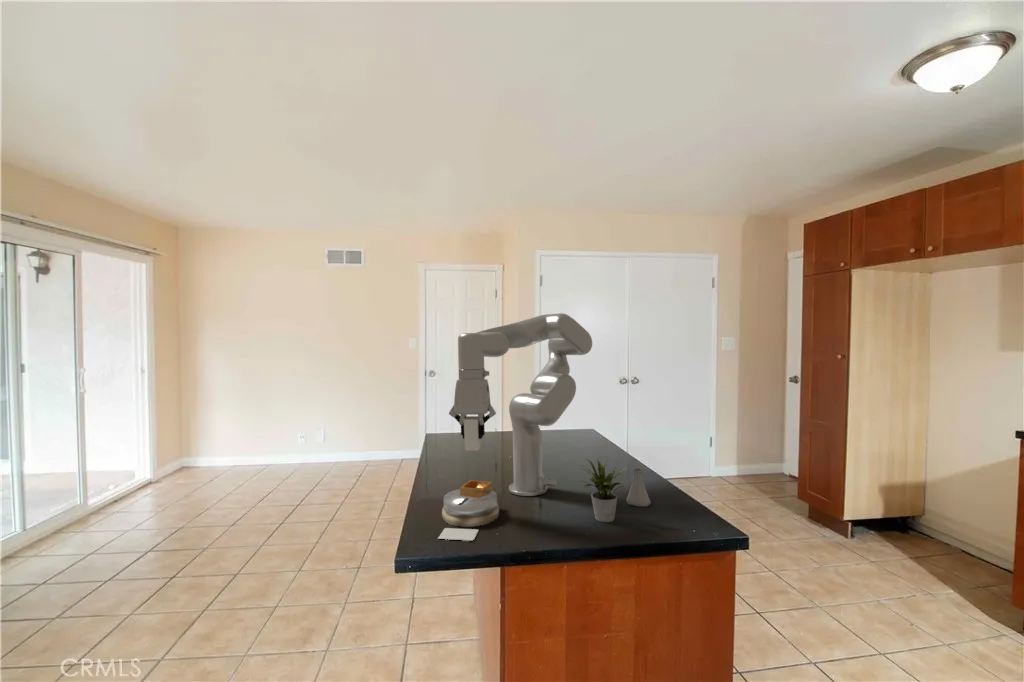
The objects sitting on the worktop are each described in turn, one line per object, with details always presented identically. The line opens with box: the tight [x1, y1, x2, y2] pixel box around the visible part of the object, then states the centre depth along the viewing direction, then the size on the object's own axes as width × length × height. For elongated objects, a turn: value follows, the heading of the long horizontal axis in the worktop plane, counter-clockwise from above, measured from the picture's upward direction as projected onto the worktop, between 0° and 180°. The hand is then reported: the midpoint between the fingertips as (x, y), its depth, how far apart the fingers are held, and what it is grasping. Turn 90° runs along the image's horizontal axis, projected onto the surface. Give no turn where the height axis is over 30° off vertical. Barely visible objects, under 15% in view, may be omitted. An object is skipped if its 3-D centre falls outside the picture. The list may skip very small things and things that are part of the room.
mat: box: [437, 527, 479, 542], centre depth 111 cm, size 9×6×1 cm, turn 82°
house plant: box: [581, 458, 628, 523], centre depth 120 cm, size 14×14×16 cm
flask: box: [625, 467, 652, 507], centre depth 130 cm, size 7×7×10 cm
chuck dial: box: [443, 479, 498, 518], centre depth 123 cm, size 15×15×5 cm
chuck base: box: [441, 503, 500, 528], centre depth 123 cm, size 16×16×2 cm
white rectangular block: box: [463, 415, 482, 452], centre depth 127 cm, size 4×4×9 cm
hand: (472, 437), depth 127 cm, fingers closed on white rectangular block, 4 cm apart
